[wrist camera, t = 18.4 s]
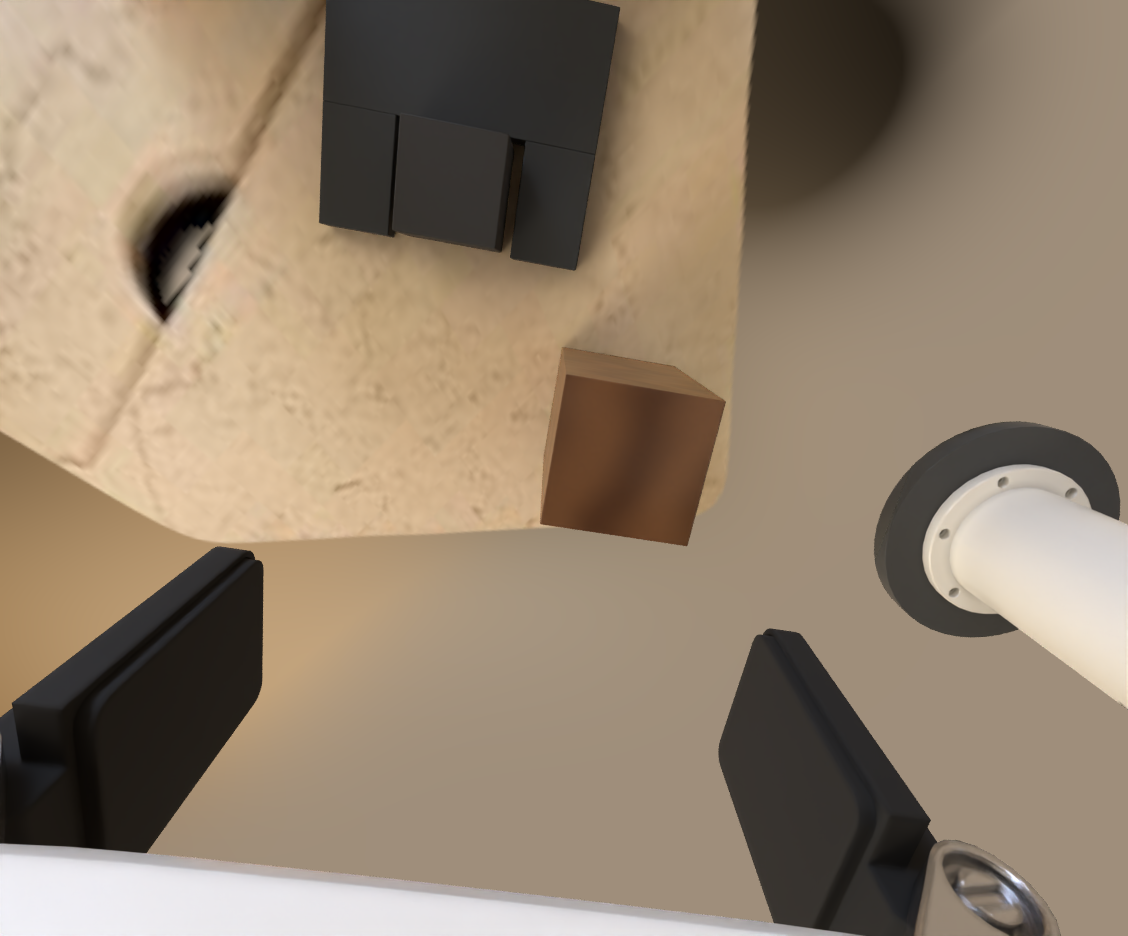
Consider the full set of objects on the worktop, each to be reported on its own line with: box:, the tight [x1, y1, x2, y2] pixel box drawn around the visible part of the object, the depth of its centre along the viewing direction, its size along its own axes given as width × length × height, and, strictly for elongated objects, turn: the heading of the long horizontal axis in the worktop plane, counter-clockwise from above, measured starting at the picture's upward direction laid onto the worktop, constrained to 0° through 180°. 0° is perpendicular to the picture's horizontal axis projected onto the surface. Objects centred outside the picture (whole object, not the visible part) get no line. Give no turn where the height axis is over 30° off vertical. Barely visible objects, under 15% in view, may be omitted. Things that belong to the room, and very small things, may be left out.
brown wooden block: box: [540, 347, 726, 546], centre depth 34 cm, size 8×8×12 cm
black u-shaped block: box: [319, 0, 620, 270], centre depth 33 cm, size 16×14×2 cm
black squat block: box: [392, 113, 514, 253], centre depth 33 cm, size 6×6×4 cm
